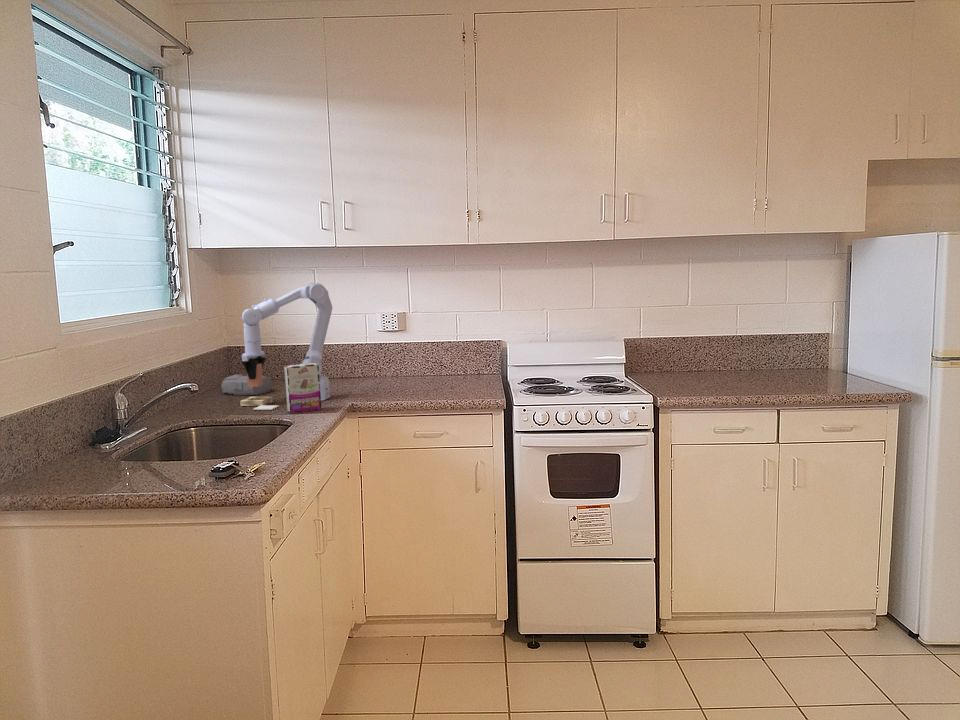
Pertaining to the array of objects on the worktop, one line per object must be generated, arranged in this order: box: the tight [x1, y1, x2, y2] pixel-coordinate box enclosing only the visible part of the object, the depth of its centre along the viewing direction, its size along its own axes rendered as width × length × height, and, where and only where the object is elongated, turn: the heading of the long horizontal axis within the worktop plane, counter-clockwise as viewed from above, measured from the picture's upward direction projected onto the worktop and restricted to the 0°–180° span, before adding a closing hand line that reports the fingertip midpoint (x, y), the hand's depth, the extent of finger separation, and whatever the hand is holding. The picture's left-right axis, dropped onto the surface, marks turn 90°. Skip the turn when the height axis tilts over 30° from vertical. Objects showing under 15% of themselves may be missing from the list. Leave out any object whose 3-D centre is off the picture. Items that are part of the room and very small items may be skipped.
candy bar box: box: [283, 363, 322, 414], centre depth 252 cm, size 11×5×16 cm, turn 117°
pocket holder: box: [239, 396, 273, 407], centre depth 267 cm, size 8×8×2 cm
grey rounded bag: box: [220, 372, 273, 396], centre depth 294 cm, size 15×8×20 cm
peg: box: [247, 363, 263, 386], centre depth 266 cm, size 4×4×8 cm
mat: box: [252, 404, 280, 411], centre depth 258 cm, size 7×6×1 cm
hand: (255, 378), depth 266 cm, fingers closed on peg, 4 cm apart
